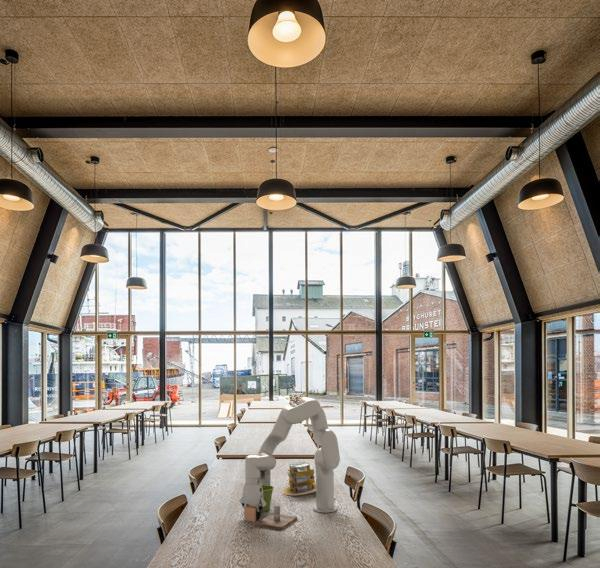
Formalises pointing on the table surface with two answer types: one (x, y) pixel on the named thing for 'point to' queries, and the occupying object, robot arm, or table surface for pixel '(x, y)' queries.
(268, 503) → the plant pot
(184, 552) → the table surface
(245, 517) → the salmon orange cube
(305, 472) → the plate with layered stack
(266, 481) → the coffee box
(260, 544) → the table surface
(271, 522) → the post board
